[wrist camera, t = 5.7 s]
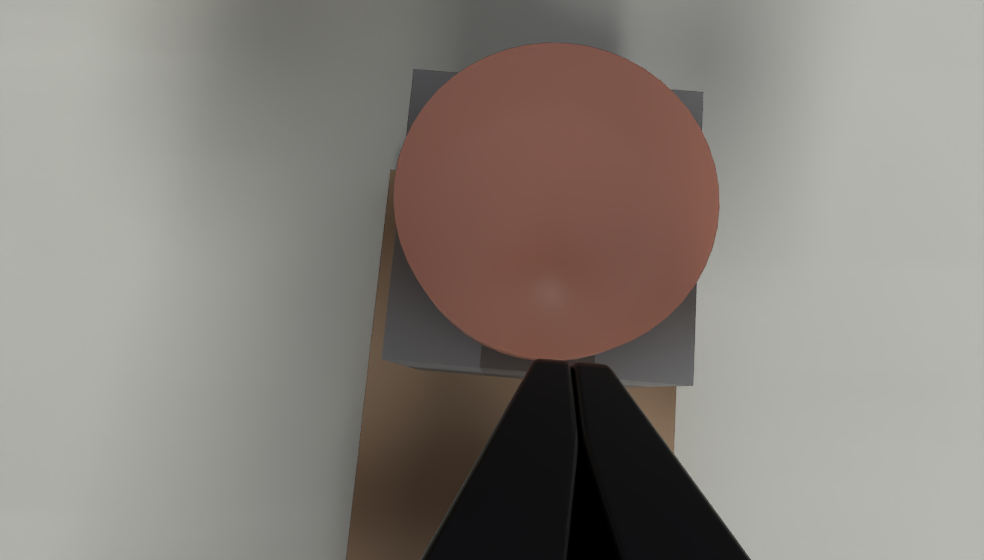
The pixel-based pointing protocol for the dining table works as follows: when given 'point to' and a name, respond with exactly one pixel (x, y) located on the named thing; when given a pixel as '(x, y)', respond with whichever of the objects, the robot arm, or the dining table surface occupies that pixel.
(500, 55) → the red button
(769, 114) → the dining table surface
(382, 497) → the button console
